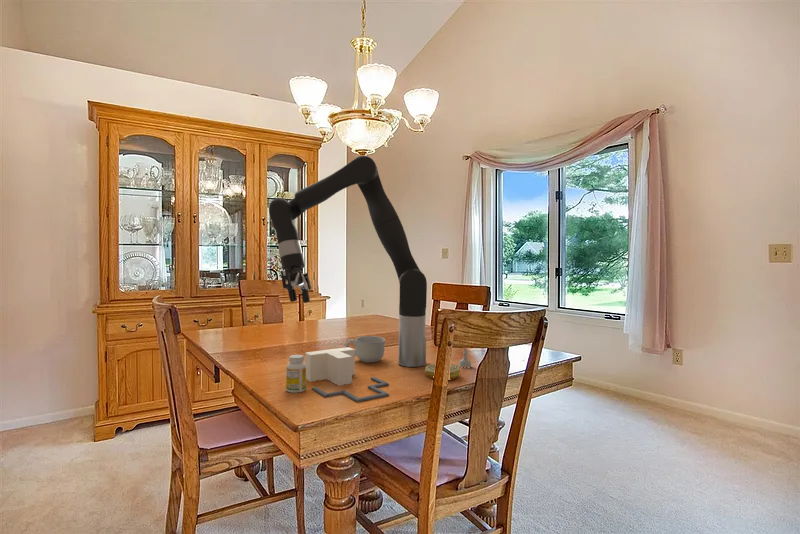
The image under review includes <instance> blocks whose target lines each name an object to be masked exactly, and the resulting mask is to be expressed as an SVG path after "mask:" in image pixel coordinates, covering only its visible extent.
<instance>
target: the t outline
mask: <svg viewBox="0 0 800 534" xmlns="http://www.w3.org/2000/svg"><path fill="white" fill-rule="evenodd" d="M370 380H371V381H374V382H375V381H376V383H375V384H370V385H367V389H369V390H371V391H373V392H375V393H376V394H373V395H368V396H362V397H358V396H356V395H354V394H352V393H350V392H349V391H348V390H345V389H343V390H338V391H333V392H332V391H331V392H326V391H324V390H323V389H321V388H319V387H318V386H313V387H312V388H311V391H314V392H315V391H316V392H315V393H317V394H319V395H320V394H321V395H320V396H322V397H323V396H324V397H323V398H330V397H335V396H340V394H341V395H344V396H345V397H347V398H349V399H350V400H352V401H354V402H356V403H359V402H365V401H370V400H375V399H380V398H384V397H385V398H386V397H389V396H390V393H388V392H387V391H384V390H382V389H381V388H382V387H387V386H390V383H389V382H386V381H384V380H382V379H380V378H378V377H375V376H371V377H370ZM334 395H335V396H334ZM329 396H330V397H329Z"/></svg>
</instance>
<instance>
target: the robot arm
mask: <svg viewBox="0 0 800 534" xmlns="http://www.w3.org/2000/svg"><path fill="white" fill-rule="evenodd" d="M354 185H357V186H358V188H359V190H360V191H361V193H362V195H363V197H364V199H365V202H366V205H367V208H368V211H369V216H370V219H371V223H372V224H373V227H374V230H375V233H376V234H377V235H376V236H377V237H378V239H379V241H380V243H381V245H382V247H383V248H384V250H385V252H386V254H388V256H389V258H390V260H391V261H392V263H393V267H394V270H395V272H396V275H397V278H398V282H399V305H398V317H399V318H398V365H399V366H401V367H408V368H417V367H422V366H423V367H425V366H426V367H427V337H426V319H427V318H426V312H427V311H426V310H427V293H428V292H427V290H428V281H427V277H426V275H425V274H424V273H423V272H422V271H421V269H420V268H419V266H418V264H417V263H416V261H415V258H414V257H413V255H412V252H411V250H410V246H409V241H408V237H407V235H406V232H405V229H404V226H403V223H402V222H401V219H400V217H399V215H398V212H397V211H396V209H395V207H394V205H393V204H392V202H391V201H390V199H389V198H388V196H387V194H386V192H385V190H384V186H383V184H382V180H381V177H380V174H379V170H378V167H377V164H376V162H375V160H373V159H372V158H371V157H370V156H368V155H359V156H356V157H355V158H354V159H352V160H351V161H350V162H348V163H346V164H345V165H344V166H342V167H341V168H340V169H338V170H336V171H335V172H333V173H331V174H330V175H328V176H327V177H324V178H323V179H320V180H317V181H316V182H314V183H312V184H310V185H308V186H306V187H304V188H301V189H300V190H298V191H296V192H295V193H294V197H293V198H292V199H291V200H289V201H287V200H286V199H284V198H283V197H282V198H281V197H275V198H274V199H272V200H271V201H270V203H269V206H268V213H269V218H270V220H271V223H272V225H273V229H274V230H275V232H276V233H275V234H276V240H277V245H278V253H279V259H280V264H281V269H282V270H281V271H280V277H281V281H282V282H281V283H282V287H283V289H284V290H285V289H286V291H288V296H289V297H288V298H289V301H290V302H291V303H293V302H296V301H298V297H297V292H296V288H298V289H299V290H300V292H301V298H302V303H304V304H307V303H309V302H310V301H311V299H310V294H309V290H312V287H311V282H310V281H311V280H310V277H309V273H308V272H305V273H303V269H304V268H305V266H306V265H305V259H304V255H303V251H302V250H303V249H302V247H301V243H300V240H299V235H298V230H297V228H296V226H295V224H294V223H293V221H294V220H296V219H297V218H298V217H300V216H301V215H302V214H304V213H305V212H306V211H307V210H310V209H311V208H314V207H315V206H318V205H320V204H322V203H323V202H325V201H327V200H329V199H330V198H332V197H333V196H335V195H336V194H337V193H339V192H340V191H342V190H344V189H346V188H349V187H352V186H354Z"/></svg>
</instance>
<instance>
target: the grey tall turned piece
mask: <svg viewBox="0 0 800 534" xmlns="http://www.w3.org/2000/svg"><path fill="white" fill-rule="evenodd" d="M467 349H468V348H467ZM467 349H464V348H463V352H462V353H463V358H461V359H460V360H459V362H458V365H457V366H460V367H471V366H472V363H471V360H470V359H468V357H467V355H468V351H467ZM472 367H473V366H472Z"/></svg>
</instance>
